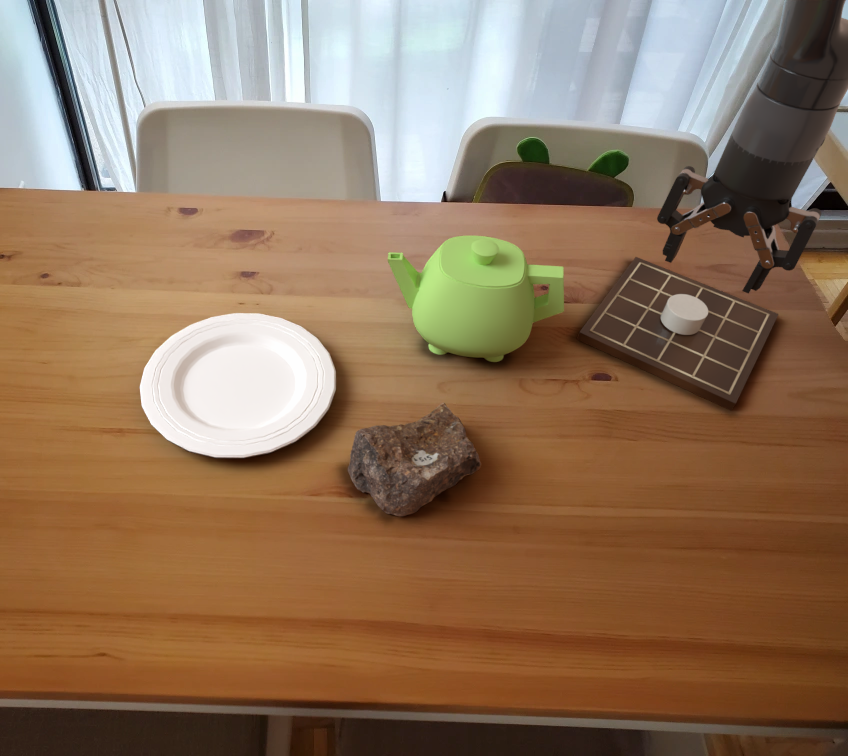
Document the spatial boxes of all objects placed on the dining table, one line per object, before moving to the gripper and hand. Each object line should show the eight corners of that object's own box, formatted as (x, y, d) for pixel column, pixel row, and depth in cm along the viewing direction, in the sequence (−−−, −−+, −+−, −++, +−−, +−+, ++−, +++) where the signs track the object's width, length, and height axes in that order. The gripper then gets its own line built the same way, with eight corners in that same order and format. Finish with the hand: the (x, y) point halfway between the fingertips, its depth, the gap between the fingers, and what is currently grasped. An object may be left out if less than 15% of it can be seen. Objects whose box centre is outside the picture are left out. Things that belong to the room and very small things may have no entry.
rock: (449, 422, 76) (454, 381, 71) (496, 475, 71) (505, 435, 66) (344, 474, 71) (342, 435, 67) (387, 534, 67) (388, 496, 62)
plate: (101, 400, 77) (97, 389, 75) (235, 299, 88) (234, 287, 87) (246, 504, 68) (245, 493, 67) (374, 378, 80) (375, 366, 78)
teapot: (374, 360, 82) (381, 274, 72) (389, 285, 91) (397, 199, 81) (553, 385, 80) (583, 299, 70) (549, 305, 89) (577, 220, 79)
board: (774, 321, 88) (779, 313, 87) (731, 410, 78) (736, 402, 77) (632, 263, 95) (636, 255, 94) (576, 339, 85) (579, 331, 84)
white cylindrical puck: (705, 319, 86) (713, 304, 84) (693, 340, 83) (701, 325, 81) (668, 303, 88) (675, 288, 86) (654, 324, 85) (661, 309, 83)
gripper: (687, 130, 69) (633, 265, 81) (848, 181, 63) (765, 318, 75) (711, 101, 73) (657, 234, 85) (864, 146, 67) (783, 281, 79)
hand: (708, 273), depth 80 cm, fingers open, 8 cm apart
